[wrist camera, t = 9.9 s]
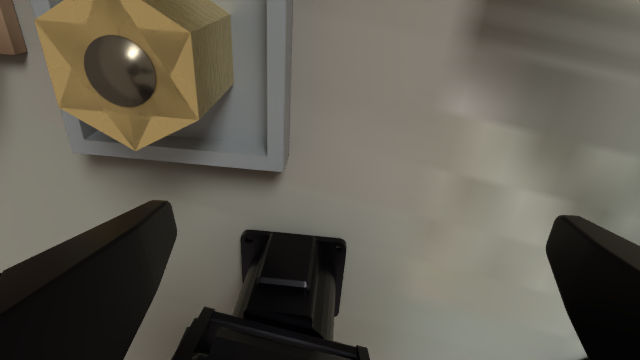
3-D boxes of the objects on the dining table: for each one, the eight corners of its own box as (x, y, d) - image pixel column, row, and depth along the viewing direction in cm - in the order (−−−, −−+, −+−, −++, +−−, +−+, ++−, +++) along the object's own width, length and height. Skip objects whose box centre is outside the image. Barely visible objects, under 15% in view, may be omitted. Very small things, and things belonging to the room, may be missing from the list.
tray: (288, 155, 22) (283, 172, 20) (94, 137, 22) (72, 152, 20) (295, -84, 16) (287, -89, 15) (37, -102, 17) (0, -109, 15)
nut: (235, 114, 20) (201, 158, 16) (130, 104, 20) (68, 145, 16) (228, -26, 17) (184, -20, 13) (104, -35, 17) (18, -32, 13)
